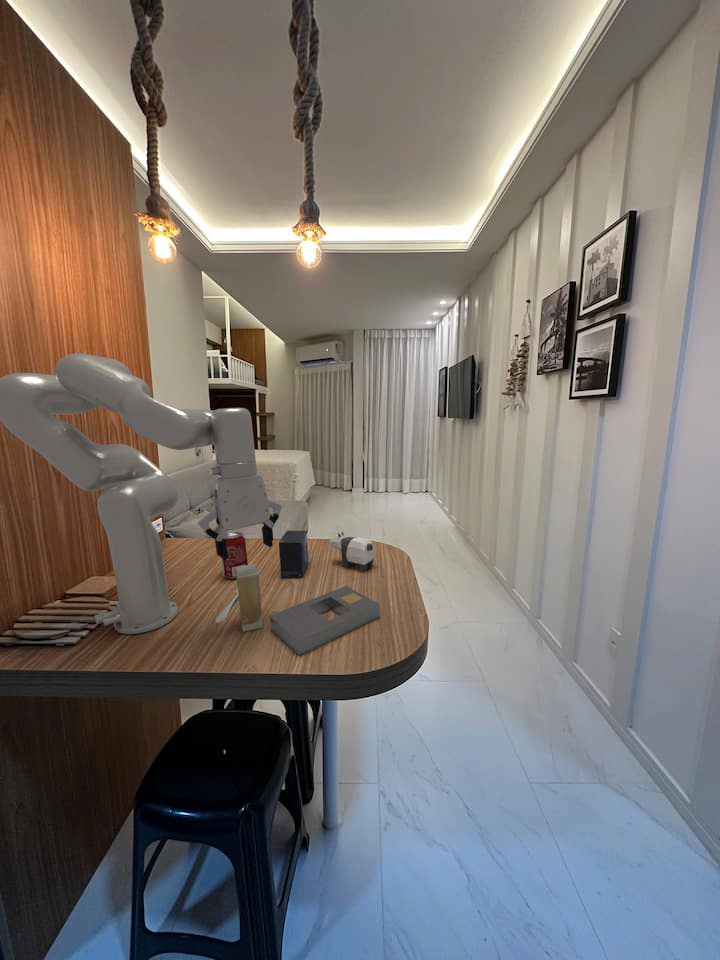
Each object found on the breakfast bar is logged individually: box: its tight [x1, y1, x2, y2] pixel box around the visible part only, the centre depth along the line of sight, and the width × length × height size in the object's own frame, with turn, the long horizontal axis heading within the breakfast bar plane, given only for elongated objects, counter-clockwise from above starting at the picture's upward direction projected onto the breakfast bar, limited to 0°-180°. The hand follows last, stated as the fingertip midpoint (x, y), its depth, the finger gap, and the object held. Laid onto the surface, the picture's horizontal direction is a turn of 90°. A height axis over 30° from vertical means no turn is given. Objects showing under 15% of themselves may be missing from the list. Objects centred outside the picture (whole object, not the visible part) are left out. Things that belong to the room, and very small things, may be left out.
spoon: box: [215, 589, 239, 623], centre depth 90 cm, size 4×21×2 cm, turn 173°
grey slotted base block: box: [269, 585, 381, 656], centre depth 81 cm, size 20×12×3 cm, turn 129°
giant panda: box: [329, 531, 375, 573], centre depth 110 cm, size 15×6×10 cm, turn 56°
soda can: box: [221, 531, 249, 580], centre depth 106 cm, size 7×7×12 cm
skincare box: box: [236, 563, 264, 632], centre depth 81 cm, size 6×4×12 cm
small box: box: [278, 530, 309, 579], centre depth 108 cm, size 11×6×10 cm, turn 179°
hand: (246, 551), depth 79 cm, fingers open, 9 cm apart
